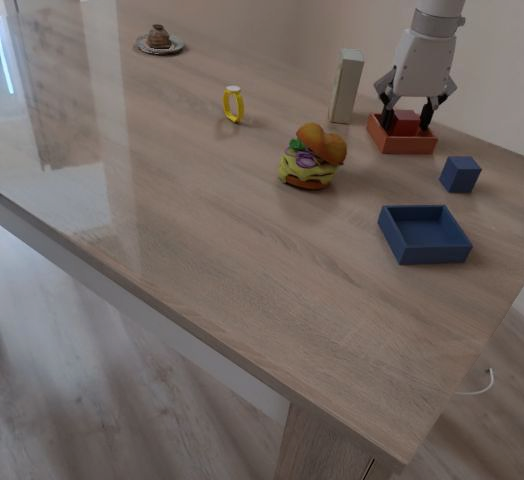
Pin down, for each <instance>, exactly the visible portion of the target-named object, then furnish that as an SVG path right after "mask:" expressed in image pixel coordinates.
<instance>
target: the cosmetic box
mask: <svg viewBox="0 0 524 480" xmlns="http://www.w3.org/2000/svg"><path fill="white" fill-rule="evenodd" d="M364 64H365V56H364V54H363V50H362V49H358V48H349V47H343V46H342V47H340V51H339V55H338V61H337V66H336V69H335V70H336V71H335V76H334V80H333V85H332V91H331V94H330V101H329V104H328V117H329V122H331V123H339V124H347V125H349V124H350V122H351V118H352V114H353V111H354V106H355V102H356V98H357V94H358V90H359V85H360V81H361V78H362V73H363V69H364V66H365V65H364Z"/></svg>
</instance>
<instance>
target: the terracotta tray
mask: <svg viewBox="0 0 524 480" xmlns="http://www.w3.org/2000/svg"><path fill="white" fill-rule="evenodd" d="M381 115H382V112H370V113H369V115H368V119H367V122H366V123H367V124H366V130H367V131H368V133H369V134H370V136H371V138H372V140H373V141H374V143H375V144H376V146H377V148H378V149H379V151H380V153H381V154H422V155H423V154H428V155H429V154H431V155H432V154H434V151H435V149H436V146H437V144H438V141H439V137H438V136H437V135H436V133H435V132H434V131H433V130H432V128H431V127H430V126H429V125H428V128H427V131H423V130H422V129H421V128H420V127H418V130H417V133H416V136H415V137H395V136H388V135H387V134H386V132H385V130H384V128H383V127H382V125H381V123H380V119H381ZM416 115H417V116H418V117H419V118H420V115H421V113H416Z"/></svg>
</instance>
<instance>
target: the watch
mask: <svg viewBox="0 0 524 480" xmlns="http://www.w3.org/2000/svg"><path fill="white" fill-rule="evenodd" d="M230 95H233V96H234V99H235V102H236V105H237V108H236V109H237V113H236V116H234V115H233V112H232V110H231V105H230ZM222 108H223V112H224V114H225V117H226V118H227V119H229V120H230V121H232V122H233V123H238V122H241V121H242V120H243V118H244V114H245V103H244V99H243V96H242V94H241V87H240V86H237V85H228V86H226V87H225V90H224V92H223V95H222Z"/></svg>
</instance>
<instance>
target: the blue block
mask: <svg viewBox="0 0 524 480" xmlns="http://www.w3.org/2000/svg"><path fill="white" fill-rule="evenodd" d="M482 171H483V169H482V167H481V166H480V165H479V163H477V161H476V160H475V158H474V157H472V156H471V155H448V156H447V158H446V161H445V163H444V165H443V167H442V170H441V173H440V176H439V178H438V180H439V181H440V183H441V184H442V186H443V187H444V188H445V190H446V192H448V193H449V194H450V193H455V194H456V193H472V192H473V190H474V187H475V185H476V183H477V181H478V179H479V177H480V175H481V173H482Z"/></svg>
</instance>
